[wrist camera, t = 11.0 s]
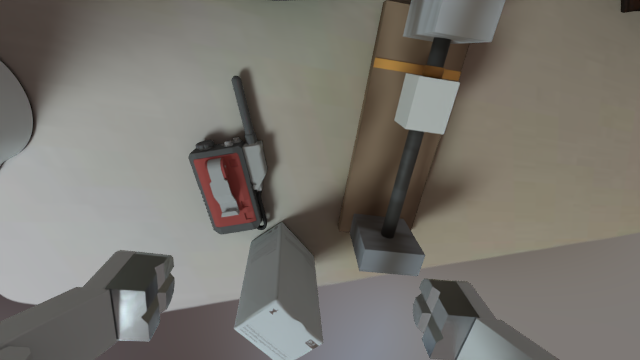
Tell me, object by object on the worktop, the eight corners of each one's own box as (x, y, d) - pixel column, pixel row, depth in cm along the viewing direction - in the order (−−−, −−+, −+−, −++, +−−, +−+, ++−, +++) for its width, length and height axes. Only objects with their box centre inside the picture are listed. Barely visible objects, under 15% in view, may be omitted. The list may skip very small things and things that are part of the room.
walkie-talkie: (281, 220, 43) (246, 73, 35) (279, 238, 39) (239, 76, 31) (221, 230, 43) (172, 85, 35) (212, 249, 39) (155, 90, 31)
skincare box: (250, 240, 43) (226, 327, 30) (284, 218, 42) (274, 298, 28) (286, 277, 46) (279, 371, 33) (318, 257, 45) (325, 347, 31)
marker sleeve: (394, 120, 33) (405, 128, 30) (405, 73, 31) (419, 76, 28) (428, 125, 34) (443, 134, 30) (442, 79, 32) (460, 82, 28)
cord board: (338, 225, 43) (347, 272, 34) (385, -9, 32) (418, -33, 23) (405, 232, 44) (431, 280, 35) (473, 8, 33) (539, -8, 24)
